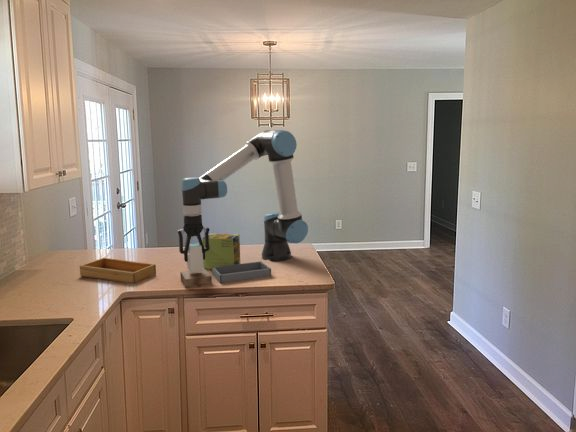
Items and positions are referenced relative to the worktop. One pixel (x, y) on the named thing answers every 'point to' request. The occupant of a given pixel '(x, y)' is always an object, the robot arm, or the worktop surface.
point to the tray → (118, 270)
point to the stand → (195, 278)
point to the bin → (241, 272)
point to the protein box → (222, 250)
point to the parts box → (195, 257)
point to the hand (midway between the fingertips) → (195, 267)
